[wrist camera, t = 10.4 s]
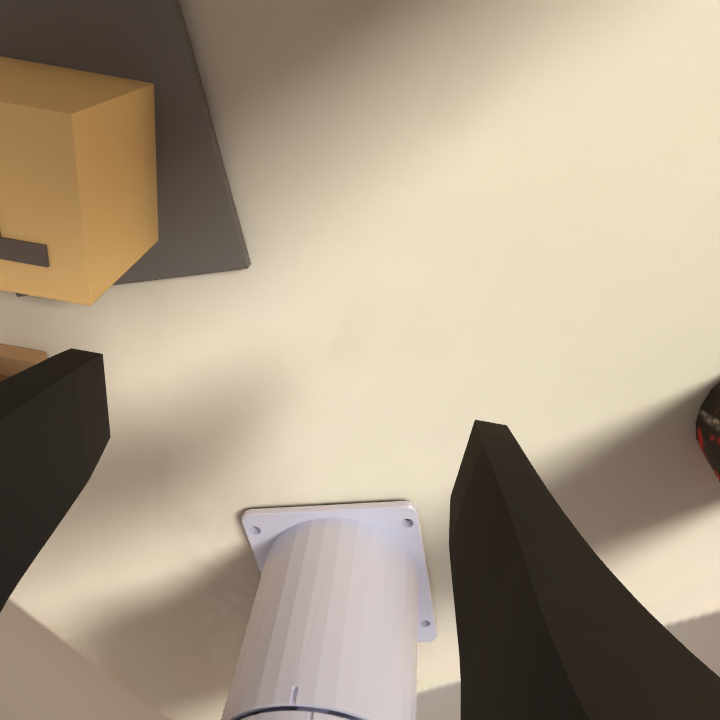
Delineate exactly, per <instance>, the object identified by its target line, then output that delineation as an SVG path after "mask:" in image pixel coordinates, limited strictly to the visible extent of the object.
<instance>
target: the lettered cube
mask: <svg viewBox="0 0 720 720" xmlns="http://www.w3.org/2000/svg"><path fill="white" fill-rule="evenodd" d="M158 240H159V239H158V205H157V171H156V137H155V104H154V84H153V83H148V82H142V81H137V80H131V79H125V78H120V77H114V76H109V75H103V74H97V73H92V72H86V71H80V70H75V69H69V68H64V67H58V66H52V65H47V64H41V63H36V62H30V61H24V60H19V59H13V58H8V57H2V56H0V290H4V291H9V292H15V293H21V294H26V295H32V296H37V297H43V298H49V299H54V300H60V301H66V302H71V303H77V304H82V305H88V306H91V305H92V304H93V303H94V302H95V301H96V300H97V299H98V298H99V297H100V296H101V295H102V294H103V293H104V292H105V291H106V290H107V289H108V288H110V287H111V286H112V285H113V284H114V283H115V282H116V281H117V280H118V279H119V278H120V277H121V276H122V275H123V274H124V273H125V272H126V271H127V270H128V269H129V268H130V267H131V266H132V265H133V264H134V263H136V262H137V261H138V260H139V259H140V258H141V257H142V256H143V255H144V254H145V253H146V252H147V251H148V250H149V249H150V248H151V247H152V246H153V245H154V244H155V243H156V242H157V241H158Z"/></svg>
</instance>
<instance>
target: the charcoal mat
mask: <svg viewBox="0 0 720 720" xmlns="http://www.w3.org/2000/svg"><path fill="white" fill-rule="evenodd" d="M0 56H2V57H8V58H13V59H19V60H24V61H30V62H36V63H41V64H47V65H52V66H58V67H64V68H69V69H75V70H80V71H86V72H92V73H97V74H103V75H109V76H114V77H120V78H125V79H131V80H137V81H142V82H148V83H153V84H154V104H155V137H156V171H157V205H158V239H159V240H158V241H157V242H156V243H155V244H154V245H153V246H152V247H151V248H150V249H149V250H148V251H147V252H146V253H145V254H144V255H143V256H142V257H141V258H140V259H139V260H138V261H137V262H136V263H134V264H133V265H132V266H131V267H130V268H129V269H128V270H127V271H126V272H125V273H124V274H123V275H122V276H121V277H120V278H119V279H118V280H117V281H116V282H115V283H114V284H113V285H117V284H125V283H133V282H141V281H149V280H157V279H166V278H174V277H182V276H190V275H198V274H206V273H214V272H223V271H231V270H239V269H247V268H249V266H250V264H251V263H250V259H249V255H248V252H247V248H246V244H245V241H244V237H243V233H242V230H241V226H240V223H239V219H238V215H237V212H236V208H235V204H234V201H233V197H232V194H231V190H230V186H229V183H228V179H227V175H226V172H225V168H224V165H223V161H222V157H221V154H220V150H219V146H218V143H217V139H216V135H215V132H214V128H213V125H212V121H211V117H210V114H209V110H208V106H207V103H206V99H205V96H204V92H203V88H202V85H201V81H200V77H199V74H198V70H197V66H196V63H195V59H194V56H193V52H192V48H191V45H190V41H189V37H188V34H187V30H186V27H185V23H184V19H183V16H182V12H181V8H180V5H179V1H178V0H0ZM16 295H17V297H19V296H27V295H26V294H21V293H16Z"/></svg>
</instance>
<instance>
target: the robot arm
mask: <svg viewBox="0 0 720 720" xmlns="http://www.w3.org/2000/svg"><path fill="white" fill-rule="evenodd" d="M109 439H110V428H109V417H108V406H107V395H106V385H105V374H104V363H103V354H100V353H94V352H88V351H83V350H77V349H69V350H66V351H64V352H61V353H59V354H57V355H55V356H52V357H50V358H48V359H46V360H44V361H42V362H40V363H38V364H36V365H34V366H31V367H29V368H27V369H25V370H23V371H21V372H19V373H17V374H15V375H13V376H11V377H9V378H7V379H5V380H3V381H1V382H0V612H1V610H2V608H3V607H4V605H5V603H6V601H7V600H8V598H9V596H10V595H11V593H12V592H13V590H14V589H15V587H16V585H17V584H18V582H19V581H20V579H21V578H22V576H23V575H24V573H25V572H26V570H27V569H28V568H29V566H30V565H31V563H32V562H33V560H34V559H35V558H36V556H37V555H38V553H39V552H40V550H41V549H42V547H43V546H44V545H45V543H46V542H47V540H48V539H49V537H50V536H51V535H52V533H53V532H54V530H55V529H56V527H57V526H58V525H59V523H60V522H61V520H62V519H63V517H64V516H65V514H66V513H67V512H68V510H69V509H70V507H71V506H72V504H73V503H74V501H75V500H76V498H77V497H78V495H79V494H80V493H81V491H82V490H83V488H84V487H85V485H86V484H87V482H88V480H89V479H90V477H91V475H92V473H93V471H94V469H95V467H96V465H97V463H98V461H99V459H100V457H101V455H102V453H103V451H104V449H105V447H106V445H107V443H108V441H109ZM404 519H410V521H406V520H404ZM242 524H243V527H244V530H245V532H246V535H247V538H248V540H249V543H250V546H251V548H252V551H253V554H254V557H255V559H256V562H257V565H258V567H259V570H260V573H261V579H260V582H259V586H258V589H257V593H256V596H255V600H254V604H253V607H252V611H251V614H250V618H249V622H248V625H247V629H246V632H245V636H244V640H243V643H242V647H241V650H240V654H239V657H238V661H237V665H236V668H235V672H234V675H233V679H232V683H231V686H230V690H229V693H228V697H227V701H226V704H225V708H224V711H223V715H222V718H221V720H416V704H417V642H428V641H433V640H435V639H436V638H437V625H436V619H435V613H434V606H433V600H432V594H431V588H430V582H429V575H428V569H427V563H426V557H425V550H424V544H423V538H422V532H421V526H420V519H419V513H418V508H417V506H416V505H415V504H414V503H413V502H410V501H392V502H374V503H355V504H337V505H319V506H300V507H282V508H263V509H250V510H247V511H245V512H244V514H243V517H242ZM253 526H254V527H253ZM255 527H258V528H255ZM449 549H450V561H451V572H452V583H453V593H454V604H455V614H456V624H457V635H458V645H459V656H460V674H461V720H720V677H719V676H717V675H716V674H715V673H714V672H713V671H711V670H710V669H709V668H708V667H707V666H706V665H705V664H704V663H703V662H701V661H700V660H699V659H698V658H697V657H696V656H695V655H694V654H692V653H691V652H690V651H689V650H688V649H687V648H686V647H685V646H684V645H683V644H682V643H680V642H679V641H678V640H677V639H676V638H675V637H674V636H673V635H672V634H671V633H670V632H669V631H668V630H667V629H666V628H665V627H664V626H663V625H662V624H661V623H660V622H659V621H657V620H656V619H655V618H654V617H653V616H652V615H651V614H650V613H649V612H648V611H647V610H646V609H645V608H644V607H643V606H642V605H641V604H640V602H639V601H638V600H637V599H636V598H635V597H634V596H633V595H632V594H631V593H630V592H629V591H628V590H627V589H626V587H625V586H624V585H623V584H622V583H621V582H620V581H619V580H618V579H617V578H616V576H615V575H614V574H613V573H612V572H611V571H610V570H609V569H608V568H607V567H606V565H605V564H604V563H603V562H602V561H601V559H600V558H599V557H598V556H597V555H596V554H595V552H594V551H593V550H592V549H591V547H590V546H589V545H588V544H587V542H586V541H585V540H584V538H583V537H582V536H581V535H580V533H579V532H578V531H577V529H576V528H575V527H574V526H573V524H572V523H571V522H570V520H569V519H568V518H567V516H566V515H565V514H564V512H563V511H562V509H561V508H560V506H559V505H558V503H557V502H556V501H555V499H554V498H553V496H552V495H551V493H550V492H549V491H548V489H547V488H546V486H545V485H544V483H543V482H542V480H541V479H540V477H539V475H538V474H537V472H536V471H535V469H534V468H533V466H532V465H531V463H530V461H529V460H528V458H527V457H526V455H525V453H524V452H523V450H522V449H521V447H520V445H519V444H518V442H517V441H516V439H515V437H514V436H513V434H512V433H511V431H510V430H509V428H508V427H507V425H502V424H496V423H490V422H485V421H479V420H475V422H474V425H473V428H472V431H471V434H470V437H469V441H468V444H467V447H466V450H465V453H464V456H463V459H462V463H461V466H460V469H459V472H458V475H457V478H456V481H455V485H454V488H453V491H452V494H451V499H450V527H449Z"/></svg>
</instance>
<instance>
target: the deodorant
mask: <svg viewBox="0 0 720 720" xmlns="http://www.w3.org/2000/svg"><path fill="white" fill-rule="evenodd" d="M696 439H697V441H698V443H699V445H700V447H701V450H702V452H703V454H704V455H705V457H706V459H707V460H708V462H709V464H710V465H711V467H712V469H713V470H714V472H715V474H716V476H717V477H718V479H719V481H720V382H719V383H718V384H717V385H716V386H715V387H714V388H713V389H712V390H711V391H710V393H709V395H708V396H707V398H706V399H705V401H704V402H703V404H702V405H701V407H700V410H699V414H698V417H697V420H696Z"/></svg>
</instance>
